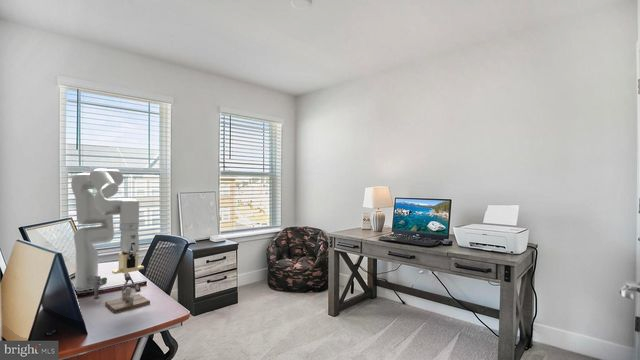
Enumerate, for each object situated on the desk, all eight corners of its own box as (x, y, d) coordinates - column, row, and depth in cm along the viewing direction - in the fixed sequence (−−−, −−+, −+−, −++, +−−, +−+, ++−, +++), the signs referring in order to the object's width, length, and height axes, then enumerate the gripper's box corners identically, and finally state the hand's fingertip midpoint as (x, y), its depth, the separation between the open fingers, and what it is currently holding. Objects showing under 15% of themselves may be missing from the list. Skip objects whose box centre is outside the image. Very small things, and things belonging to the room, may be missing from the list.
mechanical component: (102, 299, 148) (102, 278, 148) (84, 298, 150) (84, 277, 150) (107, 297, 151) (108, 276, 151) (90, 295, 153) (90, 275, 153)
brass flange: (139, 266, 150) (140, 250, 150) (145, 269, 146) (145, 252, 146) (110, 272, 141) (111, 254, 141) (115, 274, 137) (115, 256, 137)
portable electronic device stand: (140, 291, 161) (140, 275, 161) (122, 294, 156) (122, 277, 156) (138, 286, 168) (139, 270, 168) (121, 289, 164) (121, 273, 164)
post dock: (105, 305, 142) (105, 288, 142) (138, 297, 153) (139, 281, 153) (114, 313, 134) (115, 295, 134) (149, 303, 144) (150, 287, 144)
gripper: (145, 227, 141) (144, 268, 141) (131, 224, 152) (130, 261, 152) (127, 229, 135) (126, 271, 135) (113, 225, 146) (112, 264, 146)
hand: (128, 266), depth 143 cm, fingers closed on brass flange, 5 cm apart
